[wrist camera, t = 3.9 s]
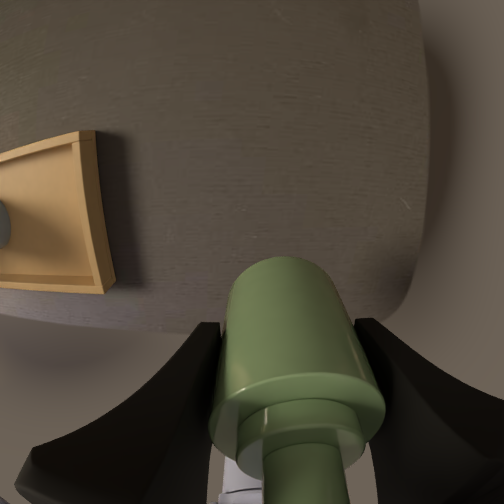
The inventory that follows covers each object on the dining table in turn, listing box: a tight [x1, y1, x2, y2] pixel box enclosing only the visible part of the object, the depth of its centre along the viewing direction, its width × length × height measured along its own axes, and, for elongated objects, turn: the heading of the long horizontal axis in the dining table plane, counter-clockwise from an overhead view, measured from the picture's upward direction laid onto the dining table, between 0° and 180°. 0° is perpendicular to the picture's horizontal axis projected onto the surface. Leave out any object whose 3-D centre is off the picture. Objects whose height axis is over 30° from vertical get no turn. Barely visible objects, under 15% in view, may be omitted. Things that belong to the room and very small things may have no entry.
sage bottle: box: [207, 256, 386, 504], centre depth 8 cm, size 4×4×8 cm
